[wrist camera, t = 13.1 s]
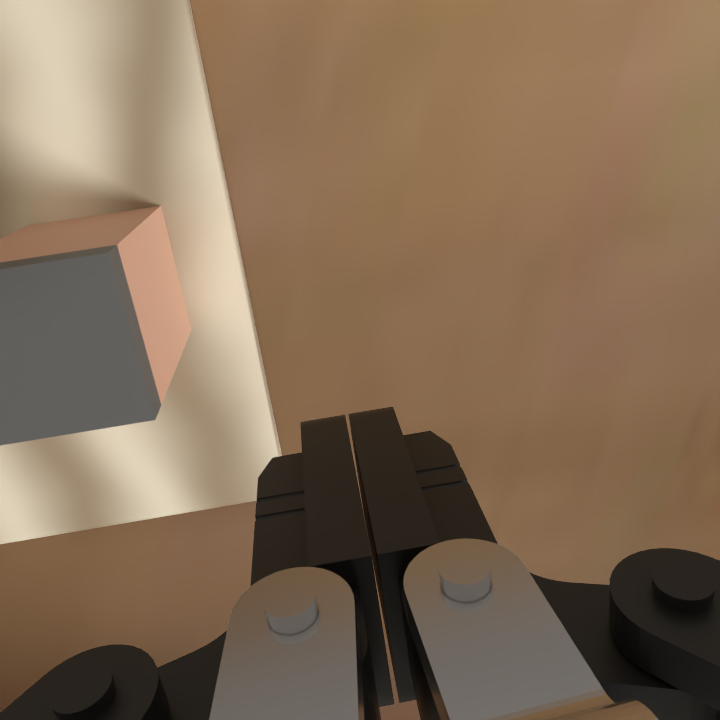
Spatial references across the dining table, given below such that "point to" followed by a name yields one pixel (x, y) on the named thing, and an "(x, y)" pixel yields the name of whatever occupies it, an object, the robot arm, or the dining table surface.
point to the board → (188, 243)
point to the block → (87, 324)
